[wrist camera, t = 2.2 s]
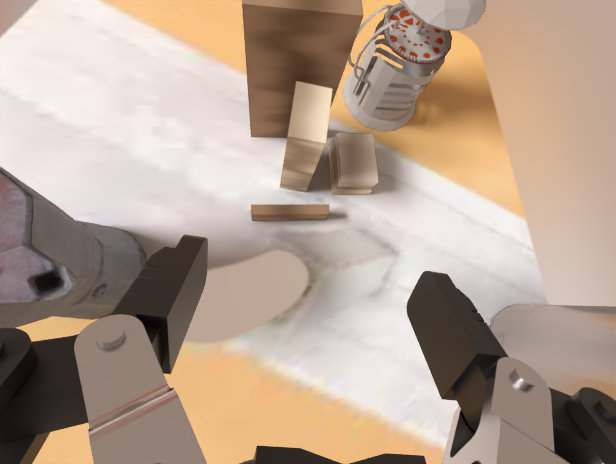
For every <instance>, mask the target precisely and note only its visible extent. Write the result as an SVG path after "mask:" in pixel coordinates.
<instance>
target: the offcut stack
mask: <svg viewBox="0 0 616 464" xmlns="http://www.w3.org/2000/svg"><path fill="white" fill-rule="evenodd" d="M328 151H329V165H330V179H331V193H332V195H368V194H369V193H370V192H371V191H372V187H373V186H375V185H376V184H377V183H378V172H377V163H376V154H375V144H374V135H373V134H360V133H337V136H333V138H332V140H331V142H330V144H329V146H328Z"/></svg>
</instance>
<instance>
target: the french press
mask: <svg viewBox="0 0 616 464" xmlns="http://www.w3.org/2000/svg"><path fill="white" fill-rule="evenodd" d="M400 1H401V3H399V4H396V5H394V6H392V7H391V5H385V6H383V7H382V8H380V9H378V10H377V11H375V12H374V13H373V14H372V15H370V16H369V17H368V18H367V19H366V20H365V21H364V23H363V24H362V25H361V27H360V28H359V29H358V32H357V35H358V34H359V32H360V31H361V29H362V28H363V27H364V26H365V24H366V23H367V22H368V21H369V20H370V19H371V18H372V17H374V16H375V15H376V14H377V13H379V12H381V11H382V10H384V9H386V8H388V11H387V12H386V14H385V15H384V19H383V20H382V21H380V23H379V24H378V26H377V27H376V29H375V31H374V34H373V36H372V37H371V38H370V39H369V40H368V41H367V42H366V44H365V45H364V46H363V48H362V49H361V51H360V52H359V54H358V57H357V59H356V62H355V64H353V63H352V62H351V56H350V55H349V57H348V61H349V64H350V65H351V66H352V67H353V68H354V70H353V71H352V72H351V73H350V75H349V76H348V77H347V78H346V79H345V83H344V88H343V96H344V101H345V106H346V107H347V109H348V110H349V111H350V113H351V114H352V116H353V117H354V118H355V119H356V120H357V121H359V122H360V123H362V124H363V125H364V126H366V127H368V128H372V129H375V130H378V131H391V130H396V129H398V128H400V127H402V126H404V125H406V124H407V123H408V122H409V120H410V119H411V117H412V116H413V115H414V111H415V104H416V99H417V97H418V96H419V95H420V94H419V95H418V93H421V92H422V91H423V90H424V88H425V87H426V86H425V87H424V85H425V84H426V85H427V84H428V83H429V82H430V81H431V79H432V78H433V76H434V75H435V74H436V72H437V71H438V70H439V68H440V67H441V66H442V64H443V63H444V60H445V56H446V54H447V53H448V51H449V50H450V49H451V40H452V36H451V33H450V30H463V29H465V28H467V27H470V26H472V25H474V24H476V23H477V22H478V21H479V19H480V18H481V16H482V15H483V13H484V12H485V6H486V0H400ZM381 27H382V28H381ZM380 28H381V29H380ZM383 34H384V36H385V39H384V38H383V39H378V40H376V41H374V39H375V38H376V37H377V36H378V35H383ZM357 35H356V37H357ZM381 43H382V44H384V45H386V46H388V47H389V48H391V49H392V51H393V52H394V53H396V54H397V55H399V56H400V57H401V58H403V59H404V60H406V61H407V62H406V61H404V60H402V59H400V58H398V57H396V56H394V55H393V54H391V53H389V52H387V51H385V50H384V49H382V48H380V47H379V48H376V45H377V44H381ZM367 46H368V48H367V50H366V52H365V55H364V57H363V60H362V62H361V64H360V67H359V66H357V64H358V62H359V59H360V57H361V55H362V53H363V51H364V50H365V49H366V47H367ZM352 47H353V46H352ZM351 50H352V49H351ZM376 52H378V53H380V54H382V55H384V56H386V57H387V58H389V59H391V60H393V61H395V62H397V63H399V64H401V65H403V66H404V67H403V68H402V69H400V68H398V67H396V66H394V65H392V64H390V63H389V62H387V61H385V60H383V59H382V58H381V56H380V55H379V56H378V57H377V56H373V54H374V53H376ZM350 53H351V52H350ZM433 69H434V71H433ZM432 71H433V74H431V72H432ZM430 74H431V75H430ZM421 85H422V86H421ZM420 87H421V89H419V88H420ZM423 87H424V88H423ZM415 94H416V96H414V95H415Z"/></svg>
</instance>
